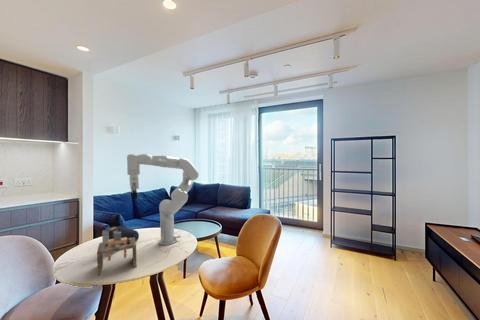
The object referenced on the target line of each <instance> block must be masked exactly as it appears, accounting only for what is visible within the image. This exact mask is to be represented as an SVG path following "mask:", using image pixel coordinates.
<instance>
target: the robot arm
mask: <svg viewBox="0 0 480 320" xmlns="http://www.w3.org/2000/svg"><path fill="white" fill-rule="evenodd" d="M126 162H127V163H126V164H127V165H126V167H127V169H126V170H127V176H129V186H130V187H129V188H130V189H131V190H130V196H131V199H132V200H134V199H135V200H136V199H138V192H137V191H138V190H139V187H140V186H139V185H140V184H139V183H140V182H139V175H140V174H141V172H140V169H141V168H140V165H144V166H145V165H146V166H154V167H161V168H167V169H169V168H170V169H179V170H182V171H183V172H182V181H181V183H180V184H179V185H178V186H177V187H176V188H175V189H174V190H173V191H172V192H171V194H170V199H163V200H162V201H160V203H159V205H158V208H159V209H158V210H159V216H160V217H159V218H160V219H159V221H160V222H159V223H160V228H159V229H160V238H159V240H158V244H159V245H161V246H169V245H173V244H175V243H176V242H177V239H180V238H181V234H175V222H174V221H175V219H174V218H175V216H174V215H175V214H176V213H177V212H178V211H179V210H180V209H181V208H182V207H183V206H184V205H185V204H186V203H187V202H188V198H189V194H188V192H189V191H190V190H191V189H192V187H193V181H195V180H198V178H199V174H200V173H199V172H198V169H196V167H195V166H194V165H193V164H192V162H191V161H190V160H189V159H188V158H186V157H177V156H176V157H175V156H169V155H152V154H151V155H150V154H149V153H141V154H136V153H131V154H128V155H127V156H126Z"/></svg>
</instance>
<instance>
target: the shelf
mask: <svg viewBox="0 0 480 320" xmlns="http://www.w3.org/2000/svg"><path fill="white" fill-rule="evenodd" d="M127 242H130V244H128V243H127V245H124V244H123V245H121V244H122V243H120V244H113V245H115V247H112V248H106V249H105V246H108V242H103V243H102V242H99V244H98V247H97V251H96V252H97V253H96V257H97V258H96V260H97V261H96V263H97V265H96V266H97V270H96V271H97V276H98V277H100V276H102V272H103V265H104V255H103V254H104V253H110V252H115V251H118V252H120V251H124V250H126V249H127V250H130V249H132V263H133V268H137V241H135V237H133V238H127Z"/></svg>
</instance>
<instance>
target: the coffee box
mask: <svg viewBox="0 0 480 320" xmlns="http://www.w3.org/2000/svg"><path fill="white" fill-rule="evenodd" d="M120 227H121V226H120ZM120 227H119V226H111V227H108V228H106V229H102V230H101V231H102V233H101V234H102V235H101V236H102V242H101V243H103V242H108V240H110V239H114V232H120ZM112 247H115V245H111V248H112ZM106 248H108V246H105V249H106ZM117 252H119V251H115V252H111V256H112V255H114V254H116V253H117ZM103 256H108V253H104V254H103Z"/></svg>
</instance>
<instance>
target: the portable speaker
mask: <svg viewBox="0 0 480 320" xmlns="http://www.w3.org/2000/svg"><path fill="white" fill-rule="evenodd" d="M118 227H120V232H121V238H124V237H127V238H133V237H135V241H136V242H138V240H139V238H140V234H139V232H138V231H137V230H135V229H133V228H128V227H125V226H118ZM128 244H130V242H127V245H128Z"/></svg>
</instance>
